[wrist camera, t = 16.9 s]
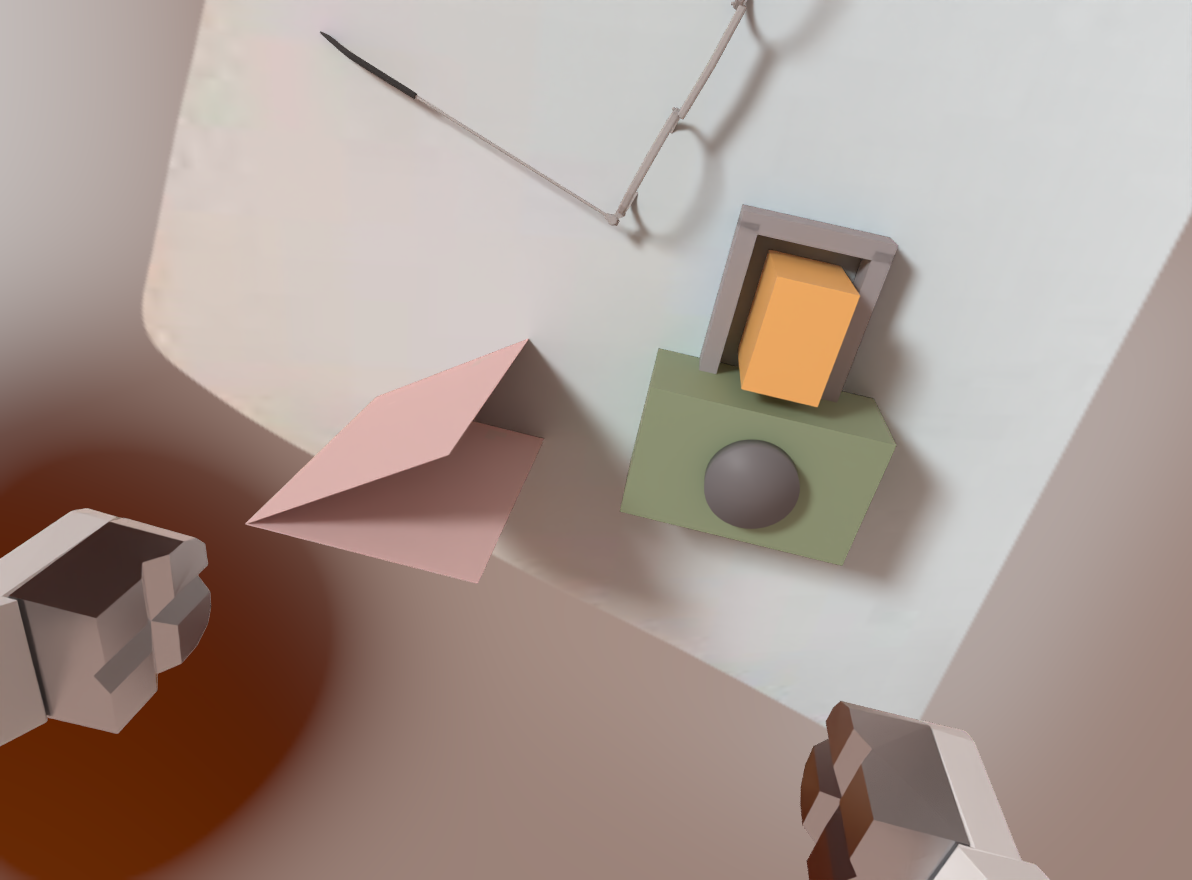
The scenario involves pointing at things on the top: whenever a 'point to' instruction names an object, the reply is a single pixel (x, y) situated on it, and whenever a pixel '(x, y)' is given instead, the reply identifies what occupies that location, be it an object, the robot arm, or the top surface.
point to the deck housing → (764, 423)
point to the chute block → (795, 327)
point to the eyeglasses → (667, 128)
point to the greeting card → (414, 476)
